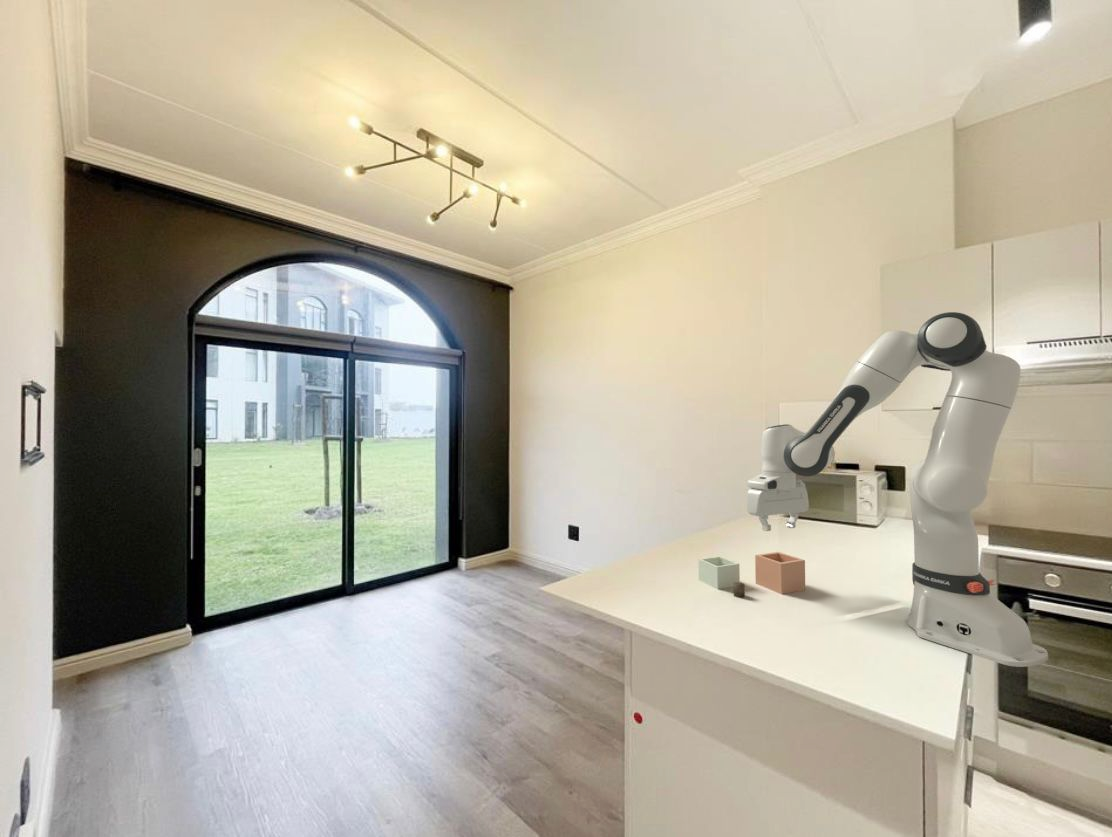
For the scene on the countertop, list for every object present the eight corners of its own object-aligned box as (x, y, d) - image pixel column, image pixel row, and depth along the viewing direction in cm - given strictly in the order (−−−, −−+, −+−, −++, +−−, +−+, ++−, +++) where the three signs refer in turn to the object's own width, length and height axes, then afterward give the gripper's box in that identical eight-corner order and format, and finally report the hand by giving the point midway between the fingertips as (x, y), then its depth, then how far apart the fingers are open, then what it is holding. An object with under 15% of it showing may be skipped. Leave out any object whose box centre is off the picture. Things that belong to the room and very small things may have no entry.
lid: (763, 604, 117) (763, 587, 117) (738, 609, 114) (738, 591, 114) (739, 593, 125) (739, 577, 125) (715, 597, 122) (715, 580, 122)
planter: (805, 592, 123) (804, 560, 124) (781, 597, 120) (781, 563, 120) (778, 581, 132) (778, 551, 132) (755, 586, 128) (755, 555, 129)
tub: (739, 588, 127) (739, 563, 127) (717, 591, 124) (717, 567, 124) (720, 579, 134) (719, 556, 135) (698, 582, 132) (698, 559, 132)
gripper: (795, 478, 133) (796, 524, 133) (742, 481, 126) (743, 530, 126) (814, 480, 127) (815, 528, 127) (760, 484, 120) (761, 535, 120)
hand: (779, 529), depth 126 cm, fingers open, 8 cm apart
